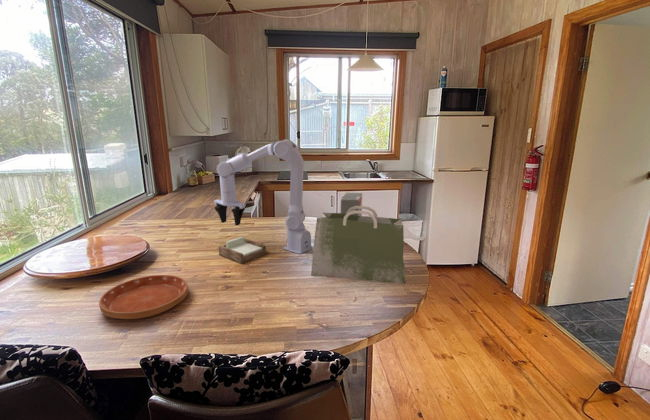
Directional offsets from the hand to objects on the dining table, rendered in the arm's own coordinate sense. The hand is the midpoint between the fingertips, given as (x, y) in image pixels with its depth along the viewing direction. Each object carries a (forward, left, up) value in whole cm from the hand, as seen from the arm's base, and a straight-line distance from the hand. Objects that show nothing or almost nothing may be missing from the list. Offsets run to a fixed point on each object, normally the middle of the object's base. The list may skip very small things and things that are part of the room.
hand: (230, 223), depth 141 cm
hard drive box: (-35, -37, -10) cm, 52 cm away
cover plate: (-12, +3, -8) cm, 15 cm away
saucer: (-18, +43, -10) cm, 48 cm away
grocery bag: (-55, -13, -10) cm, 58 cm away
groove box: (-11, +3, -10) cm, 15 cm away
